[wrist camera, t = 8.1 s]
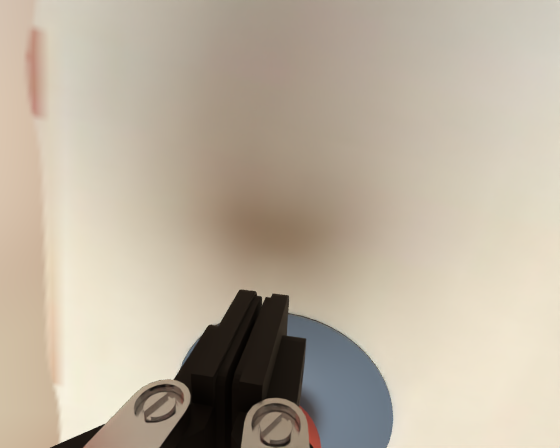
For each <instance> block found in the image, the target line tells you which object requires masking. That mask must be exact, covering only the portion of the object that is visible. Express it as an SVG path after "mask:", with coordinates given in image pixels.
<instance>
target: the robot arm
mask: <svg viewBox="0 0 560 448" xmlns="http://www.w3.org/2000/svg"><path fill="white" fill-rule="evenodd" d="M288 307H289V296H288V295H280V294H272V296H271V298H269V297H266V298H265V300H264V303H263V305H262V297H261V296H257V292H256V291H248V290H239V292H238V293H237V295H236V297H235V299H234V300H233V302H232V304H231V305H230V307H229V309H228V310H227V312H226V314H225V316H224V317H223V319H222V321H221V322H220V324H219V326H216V325H209V326H208V327H207V328H206V330H205V331H204V333H203V335H202V336H201V338H200V339H199V341H198V342H197V344H196V346H195V347H194V349H193V350H192V352H191V353H190V355H189V357H188V358H187V360H186V361H185V363H184V364H183V366H182V367H181V369H180V371H179V372H178V374H177V375H176V377H175V378H174V380H171V379H166V380H158V381H155V382H152V383H149V384H148V385H146V386H144V387H142V388H141V389H140V390H138V391H137V392H136V393H135V394H134V395H133V396H132V397H131V398H130V399H129V400H128V401H127V402H126V403H125V404H124V405H123V406H122V407H121V408H120V409H119V410H118V412H117V413H116V414H115V415H114V416H113V417H112V418H111V419H110V420H109V421H108V422H107V423H106V424H103V425H101V426H99V427H97V428H94V429H92V430H90V431H87V432H85V433H83V434H80V435H78V436H76V437H74V438H71V439H69V440H67V441H64V442H62V443H60V444H58V445H55V446H53V447H51V448H314V447H313V446H312V445H311V444H310V443H309V433H308V424H307V419H306V416H305V415H304V413H303V411H302V410H301V409H300V408H299V405H300V397H301V390H302V382H303V373H304V364H305V352H306V338H300V337H293V336H287V324H288Z"/></svg>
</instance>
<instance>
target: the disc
mask: <svg viewBox="0 0 560 448" xmlns="http://www.w3.org/2000/svg"><path fill="white" fill-rule="evenodd" d="M216 326H219V324H218V325H216ZM287 336H293V337H300V338H306V352H305V364H304V373H303V382H302V390H301V397H300V406H301V407H302V408H303V409H304V410H305V411H306V412H307V413H308V414H309V416H310V417H311V419H312V420H313V422H314V424H315V426H316V428H317V431H318V434H319V437H320V442H321V448H386V447H387V445H388V443H389V440H390V436H391V432H392V425H393V411H392V403H391V399H390V395H389V391H388V389H387V386H386V384H385V381H384V379H383V377H382V375H381V374H380V372H379V370H378V369H377V367H376V366H375V364H374V363H373V362H372V361H371V359H370V358H369V357H368V355H367V354H366V353H365V352H364V351H362V350H361V349H360V348H359V347H358V346H357V345H356V344H355V343H354V342H352V341H351V340H350V339H348V338H347V337H346V336H344V335H343V334H341V333H339V332H338V331H336V330H334V329H333V328H331V327H329V326H327V325H324V324H322V323H320V322H318V321H315V320H312V319H308V318H305V317H302V316H297V315H292V314H288V324H287ZM200 338H201V337H200ZM200 338H199V339H200ZM199 339H198V340H197V341H196V343H195V344H194V345H193V346H192V348H191V349H190V350H189V352H188V354H187V355H186V357H185V359H184V361H183V363H182V366H183V364H184V363H185V361H186V360H187V358H188V357H189V355H190V353H191V352H192V350H193V349H194V347H195V346H196V344H197V342H198V341H199ZM182 366H181V367H182Z"/></svg>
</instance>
